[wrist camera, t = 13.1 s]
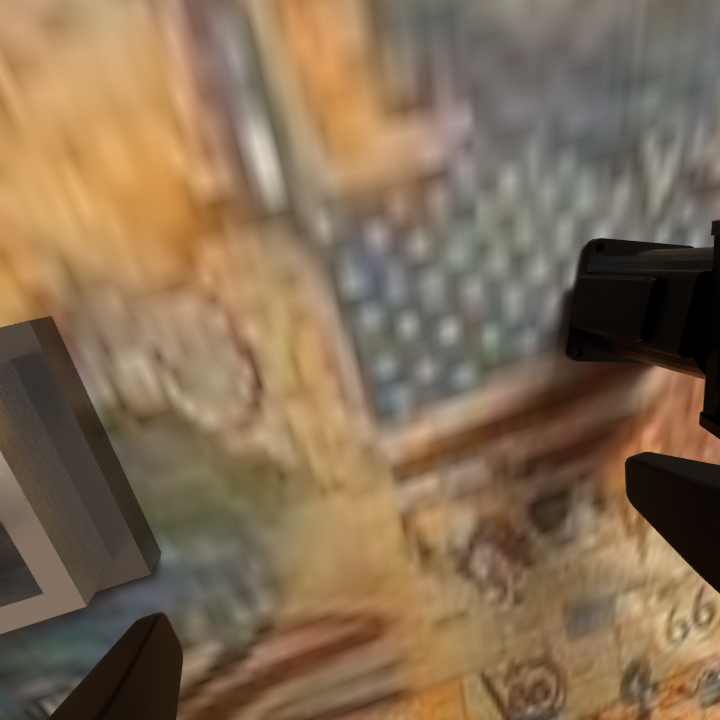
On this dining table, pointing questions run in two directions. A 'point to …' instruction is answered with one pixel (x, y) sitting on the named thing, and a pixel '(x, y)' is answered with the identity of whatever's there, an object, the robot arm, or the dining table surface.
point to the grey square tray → (59, 487)
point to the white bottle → (3, 534)
